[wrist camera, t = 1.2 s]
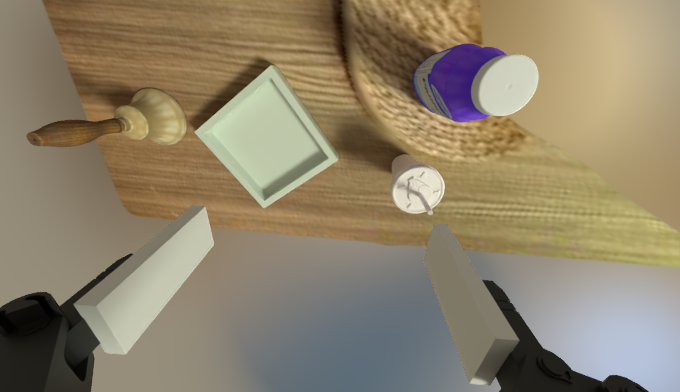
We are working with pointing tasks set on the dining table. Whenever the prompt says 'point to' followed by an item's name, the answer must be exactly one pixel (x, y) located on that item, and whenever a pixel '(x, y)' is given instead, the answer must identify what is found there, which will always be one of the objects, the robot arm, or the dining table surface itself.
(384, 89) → the dining table surface
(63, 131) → the hand bell
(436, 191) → the smoothie
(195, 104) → the dining table surface
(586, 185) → the dining table surface
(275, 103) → the tray
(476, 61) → the bottle
